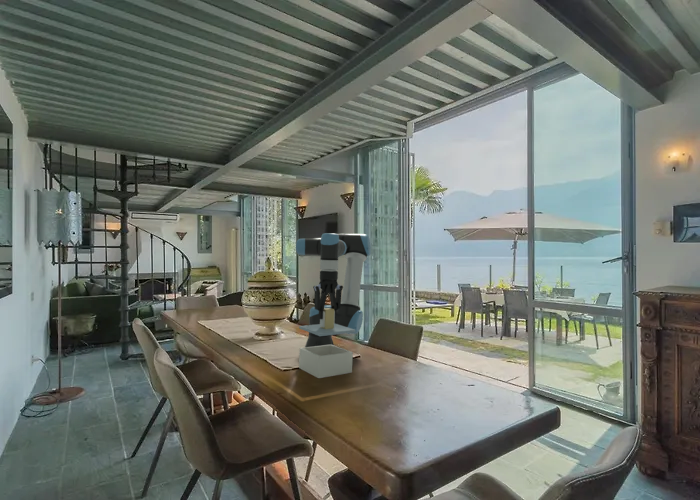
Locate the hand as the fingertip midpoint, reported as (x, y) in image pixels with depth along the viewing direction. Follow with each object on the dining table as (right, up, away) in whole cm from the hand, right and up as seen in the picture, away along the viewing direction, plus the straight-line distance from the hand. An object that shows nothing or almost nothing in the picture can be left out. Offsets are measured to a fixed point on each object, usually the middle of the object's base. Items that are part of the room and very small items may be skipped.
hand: (327, 326), depth 160 cm
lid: (0, -2, 0) cm, 2 cm away
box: (-1, -19, -1) cm, 19 cm away
